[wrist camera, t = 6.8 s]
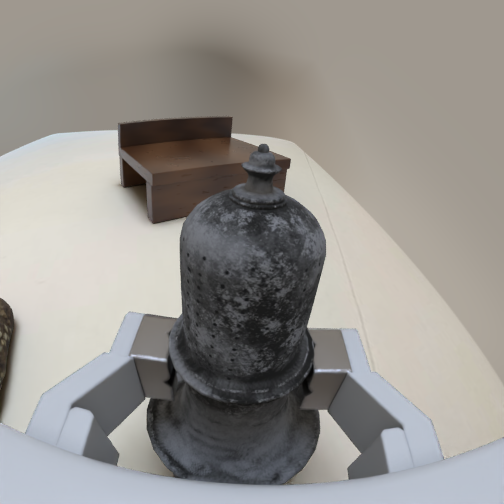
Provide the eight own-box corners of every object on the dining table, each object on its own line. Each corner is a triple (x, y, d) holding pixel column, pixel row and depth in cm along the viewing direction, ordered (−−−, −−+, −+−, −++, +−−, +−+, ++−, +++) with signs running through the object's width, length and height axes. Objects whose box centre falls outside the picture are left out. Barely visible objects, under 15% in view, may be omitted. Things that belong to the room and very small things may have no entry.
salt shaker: (155, 507, 8) (-8, 207, 2) (167, 394, 13) (140, 118, 7) (307, 508, 9) (517, 241, 3) (289, 397, 14) (359, 136, 8)
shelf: (224, 167, 46) (228, 116, 42) (285, 199, 36) (294, 133, 32) (120, 183, 37) (118, 123, 33) (154, 225, 28) (152, 140, 24)
